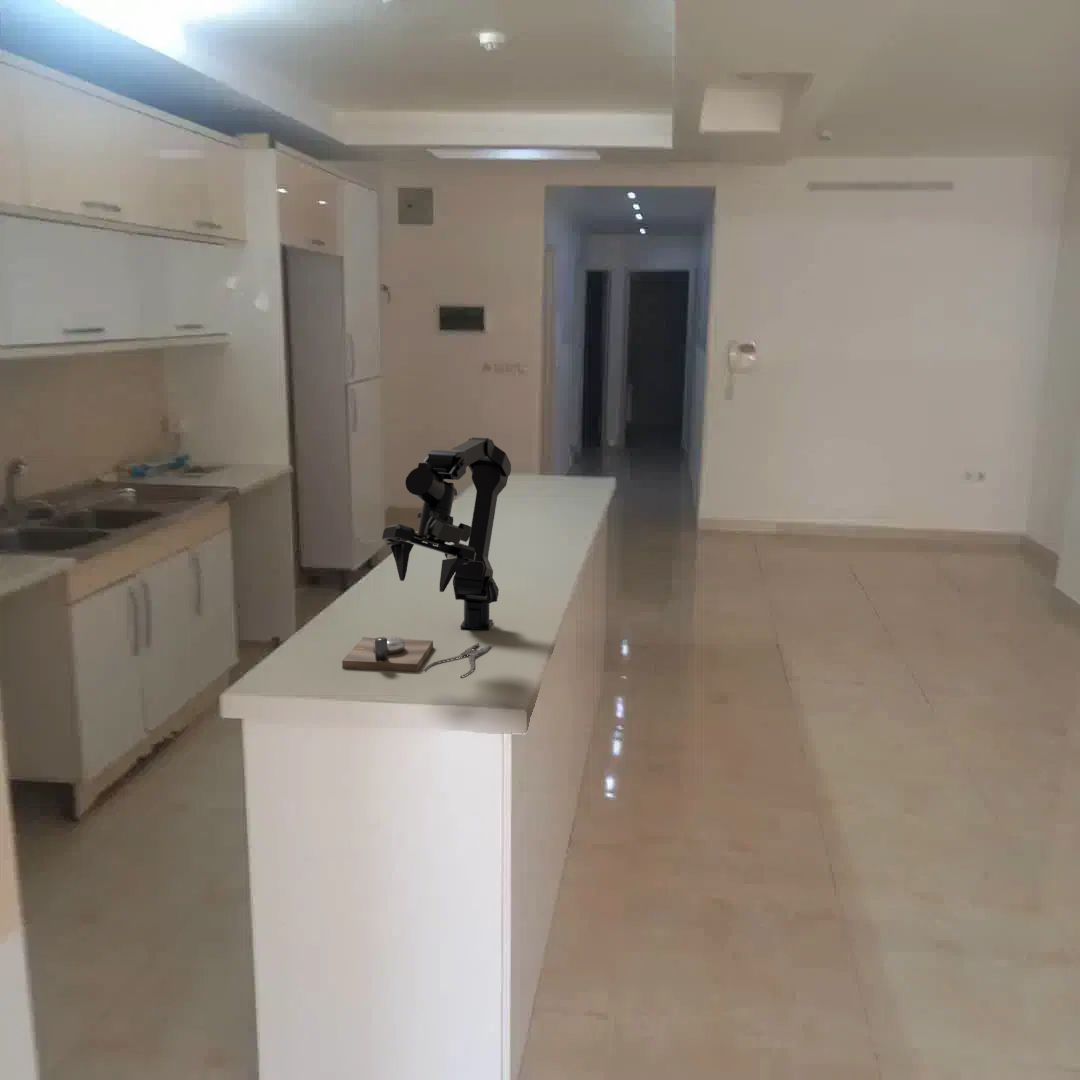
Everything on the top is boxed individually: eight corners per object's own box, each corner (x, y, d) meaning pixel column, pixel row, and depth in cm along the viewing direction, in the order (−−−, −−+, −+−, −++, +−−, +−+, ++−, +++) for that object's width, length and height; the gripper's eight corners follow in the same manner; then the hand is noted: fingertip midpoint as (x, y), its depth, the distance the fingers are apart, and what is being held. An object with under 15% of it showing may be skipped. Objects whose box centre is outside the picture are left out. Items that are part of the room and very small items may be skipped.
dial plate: (363, 644, 215) (363, 637, 214) (433, 647, 213) (432, 640, 213) (342, 667, 200) (342, 660, 200) (417, 671, 198) (416, 663, 198)
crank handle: (377, 643, 210) (377, 624, 209) (408, 644, 209) (407, 626, 208) (363, 659, 199) (363, 640, 199) (395, 661, 199) (395, 641, 198)
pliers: (419, 672, 197) (447, 640, 216) (419, 676, 197) (447, 644, 216) (468, 676, 195) (491, 644, 214) (467, 680, 195) (491, 647, 214)
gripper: (417, 492, 191) (401, 572, 188) (497, 519, 202) (483, 595, 198) (388, 499, 200) (373, 575, 196) (466, 524, 210) (453, 597, 207)
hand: (422, 586), depth 199 cm, fingers open, 9 cm apart
